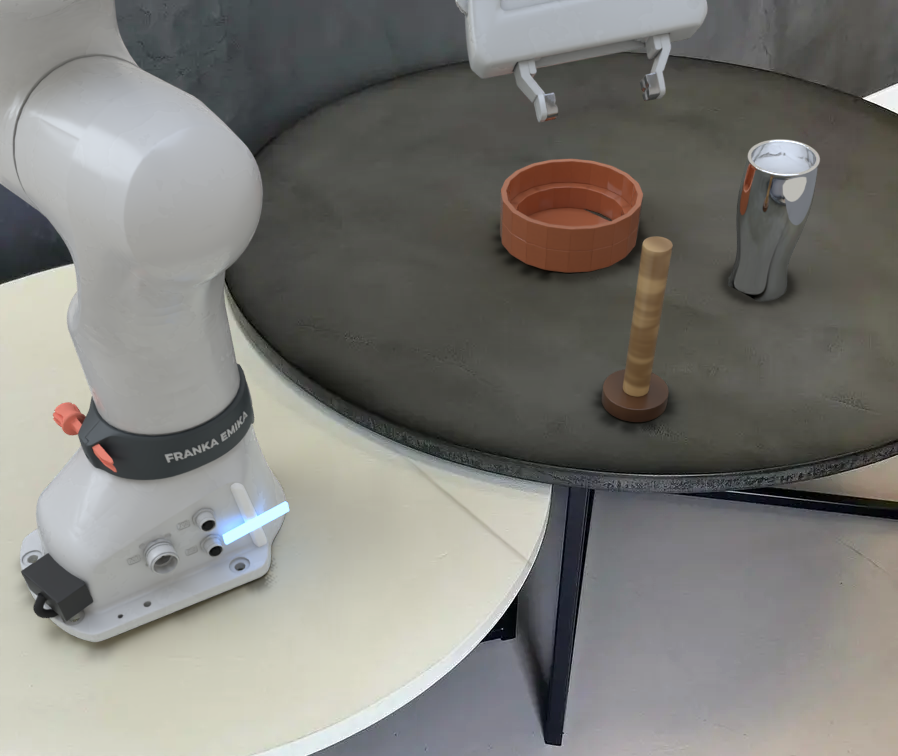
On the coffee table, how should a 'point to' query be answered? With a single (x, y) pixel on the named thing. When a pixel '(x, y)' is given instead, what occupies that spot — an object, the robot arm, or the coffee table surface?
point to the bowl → (570, 215)
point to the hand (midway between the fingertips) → (602, 108)
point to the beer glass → (772, 215)
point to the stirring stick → (642, 342)
